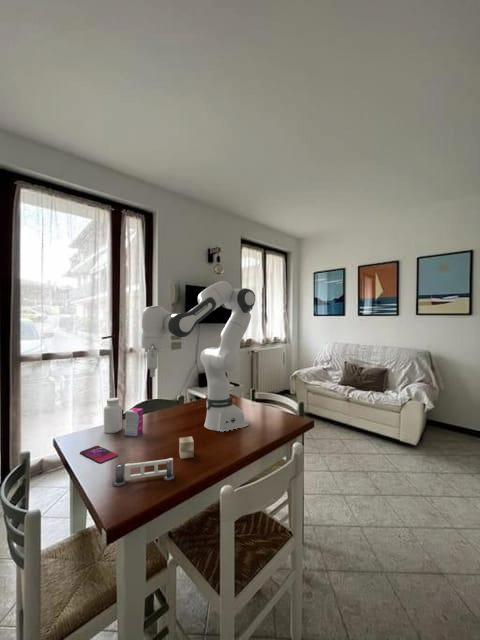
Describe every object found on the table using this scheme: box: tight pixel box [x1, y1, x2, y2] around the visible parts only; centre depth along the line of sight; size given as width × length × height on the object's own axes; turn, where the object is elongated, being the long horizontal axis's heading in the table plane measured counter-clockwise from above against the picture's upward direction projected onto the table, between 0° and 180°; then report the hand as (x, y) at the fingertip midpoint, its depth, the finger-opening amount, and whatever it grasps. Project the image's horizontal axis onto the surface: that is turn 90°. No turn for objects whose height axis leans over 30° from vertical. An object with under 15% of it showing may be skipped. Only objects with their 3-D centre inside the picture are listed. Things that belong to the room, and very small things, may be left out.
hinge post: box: [111, 463, 128, 487], centre depth 91 cm, size 4×4×6 cm
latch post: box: [162, 460, 175, 482], centre depth 94 cm, size 4×4×6 cm
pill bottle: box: [103, 397, 123, 434], centre depth 135 cm, size 8×8×15 cm
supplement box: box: [124, 407, 144, 438], centre depth 130 cm, size 6×6×12 cm
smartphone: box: [79, 445, 119, 464], centre depth 110 cm, size 8×1×15 cm
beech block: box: [178, 436, 195, 460], centre depth 111 cm, size 5×5×6 cm
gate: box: [124, 457, 174, 482], centre depth 94 cm, size 15×1×5 cm, turn 106°
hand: (152, 376), depth 119 cm, fingers closed
